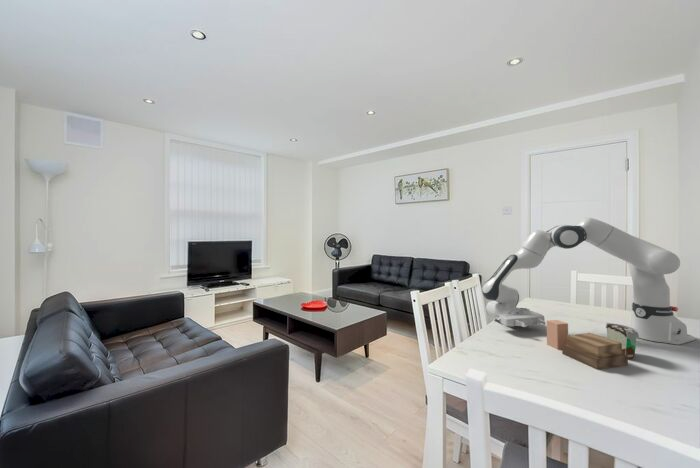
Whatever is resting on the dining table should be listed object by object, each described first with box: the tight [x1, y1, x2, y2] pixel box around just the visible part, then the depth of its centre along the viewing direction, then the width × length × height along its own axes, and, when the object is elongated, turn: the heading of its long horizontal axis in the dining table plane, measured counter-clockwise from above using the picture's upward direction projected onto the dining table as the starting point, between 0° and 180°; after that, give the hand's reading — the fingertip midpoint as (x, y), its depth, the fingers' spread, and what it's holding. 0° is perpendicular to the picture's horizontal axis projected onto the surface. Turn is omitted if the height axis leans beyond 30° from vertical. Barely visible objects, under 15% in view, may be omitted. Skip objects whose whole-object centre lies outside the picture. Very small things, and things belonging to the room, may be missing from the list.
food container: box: [605, 322, 640, 360], centre depth 111 cm, size 12×6×10 cm, turn 168°
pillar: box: [546, 319, 569, 350], centre depth 119 cm, size 5×5×10 cm
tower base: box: [561, 344, 629, 370], centre depth 107 cm, size 13×13×4 cm
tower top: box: [567, 332, 622, 358], centre depth 107 cm, size 11×11×4 cm
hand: (535, 324), depth 131 cm, fingers open, 8 cm apart
